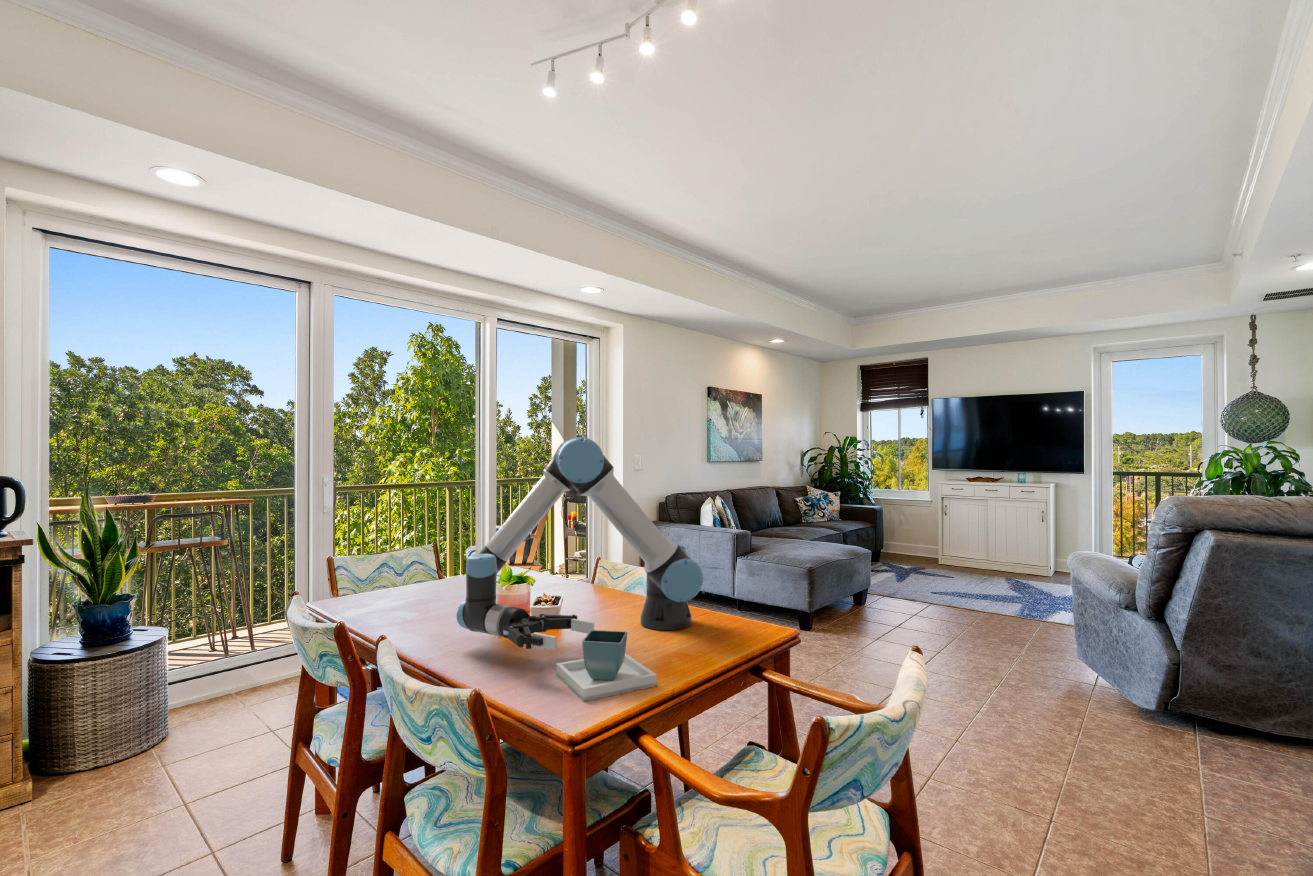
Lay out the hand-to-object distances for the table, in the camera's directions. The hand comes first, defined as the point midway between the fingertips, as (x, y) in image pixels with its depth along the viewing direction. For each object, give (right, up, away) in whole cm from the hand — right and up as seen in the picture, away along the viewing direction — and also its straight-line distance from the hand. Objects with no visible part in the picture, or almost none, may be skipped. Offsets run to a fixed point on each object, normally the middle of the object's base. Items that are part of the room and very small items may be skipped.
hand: (575, 635), depth 140 cm
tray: (+7, -8, -5) cm, 12 cm away
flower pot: (+7, -8, -4) cm, 12 cm away
